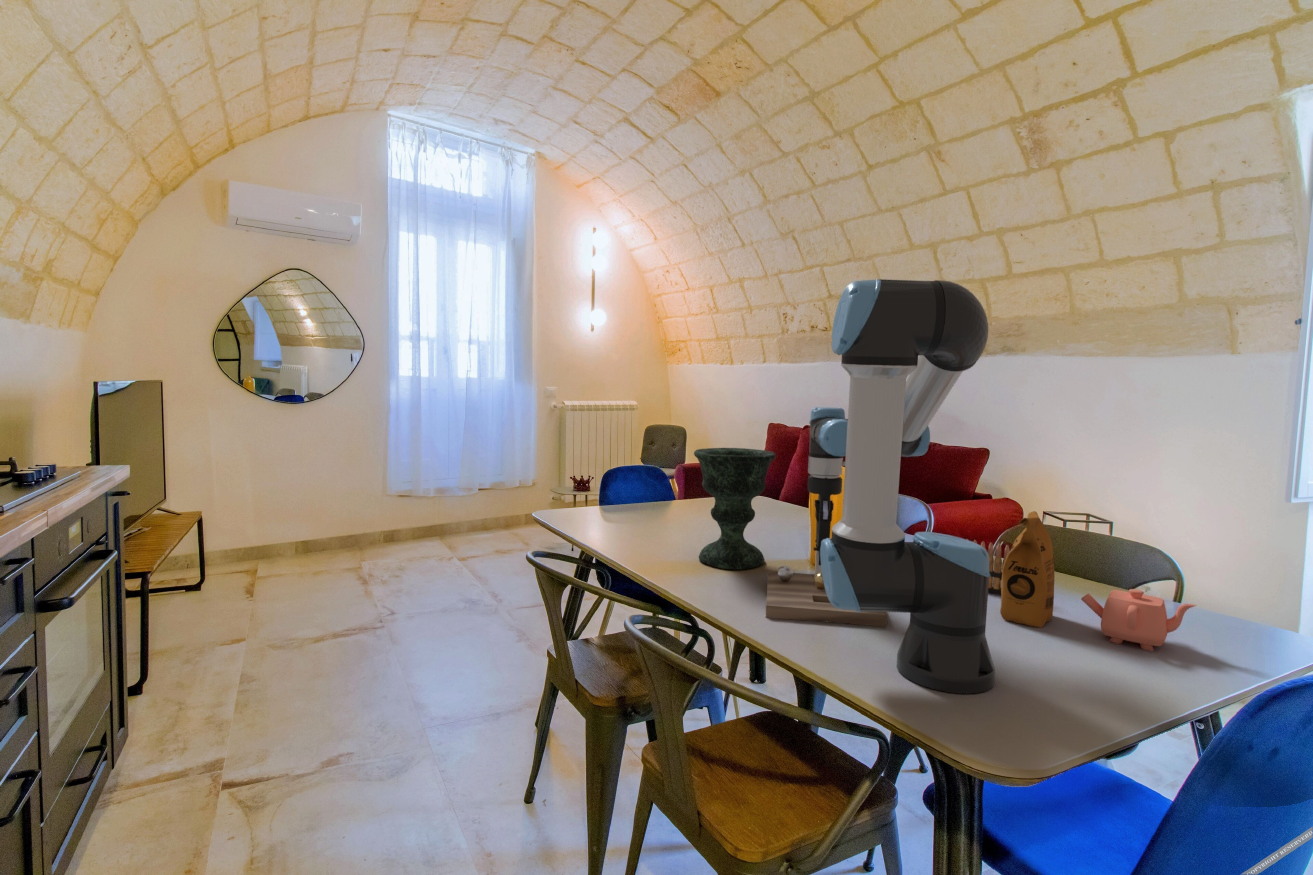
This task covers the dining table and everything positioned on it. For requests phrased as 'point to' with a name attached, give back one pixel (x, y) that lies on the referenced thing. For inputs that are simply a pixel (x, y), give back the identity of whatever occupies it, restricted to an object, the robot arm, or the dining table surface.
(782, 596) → the hole plate
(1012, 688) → the dining table surface
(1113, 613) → the teapot
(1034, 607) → the coffee package
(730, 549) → the goblet
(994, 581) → the ammunition clip
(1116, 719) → the dining table surface
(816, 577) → the brass ball
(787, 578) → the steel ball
